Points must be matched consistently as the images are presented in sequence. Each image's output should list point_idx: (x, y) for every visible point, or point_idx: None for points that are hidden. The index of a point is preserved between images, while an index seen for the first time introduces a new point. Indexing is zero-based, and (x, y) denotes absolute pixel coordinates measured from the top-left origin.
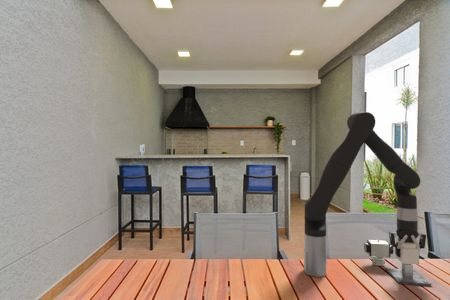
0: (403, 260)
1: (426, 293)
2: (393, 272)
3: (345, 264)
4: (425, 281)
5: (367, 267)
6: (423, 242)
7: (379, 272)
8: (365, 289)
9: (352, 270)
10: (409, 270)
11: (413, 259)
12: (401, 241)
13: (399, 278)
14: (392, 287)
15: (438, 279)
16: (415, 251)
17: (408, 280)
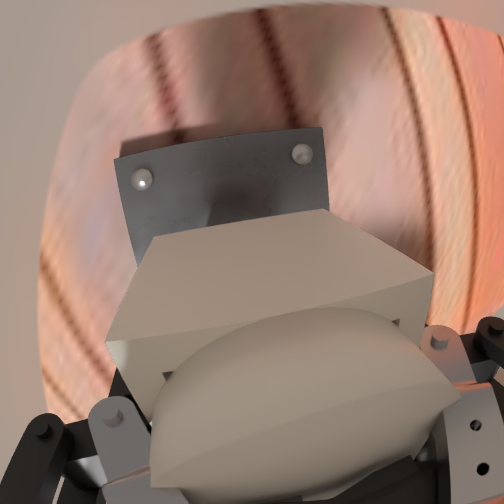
0: (331, 217)
1: (189, 41)
2: None
3: (460, 302)
4: (143, 168)
5: None
6: (20, 496)
7: None
8: (456, 60)
9: (463, 247)
10: None
11: (215, 243)
12: (493, 414)
13: (304, 177)
14: (361, 77)
15: (63, 280)
16: (181, 310)
17: (253, 159)
